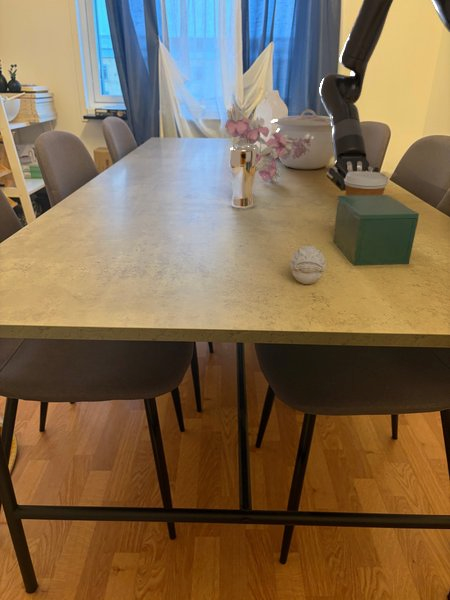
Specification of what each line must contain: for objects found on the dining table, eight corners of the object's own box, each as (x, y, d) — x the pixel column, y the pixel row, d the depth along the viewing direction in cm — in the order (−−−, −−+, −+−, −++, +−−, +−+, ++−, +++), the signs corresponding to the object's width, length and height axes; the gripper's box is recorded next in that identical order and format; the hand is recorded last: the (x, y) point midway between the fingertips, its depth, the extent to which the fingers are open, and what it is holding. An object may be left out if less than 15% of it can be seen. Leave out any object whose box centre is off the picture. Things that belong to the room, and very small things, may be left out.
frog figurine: (287, 291, 71) (290, 251, 68) (288, 274, 77) (291, 237, 74) (325, 293, 70) (329, 253, 67) (323, 276, 76) (327, 238, 73)
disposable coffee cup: (385, 225, 102) (394, 173, 97) (372, 236, 95) (381, 181, 90) (347, 218, 107) (353, 169, 102) (331, 228, 100) (337, 176, 95)
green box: (333, 241, 93) (337, 200, 89) (381, 239, 93) (388, 199, 89) (353, 265, 81) (360, 219, 77) (408, 264, 81) (418, 218, 77)
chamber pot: (343, 174, 156) (350, 112, 146) (266, 172, 159) (269, 111, 150) (337, 161, 180) (343, 107, 171) (271, 159, 184) (274, 106, 175)
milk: (270, 147, 215) (272, 89, 203) (287, 150, 207) (290, 90, 195) (252, 150, 208) (254, 90, 196) (269, 153, 200) (272, 90, 188)
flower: (295, 189, 129) (303, 105, 128) (220, 181, 128) (227, 96, 127) (283, 202, 149) (289, 129, 148) (218, 196, 148) (224, 122, 147)
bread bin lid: (337, 199, 89) (337, 195, 89) (387, 198, 90) (387, 194, 89) (360, 219, 77) (360, 215, 76) (418, 218, 77) (419, 213, 77)
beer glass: (250, 209, 115) (252, 150, 108) (226, 207, 117) (226, 149, 110) (257, 203, 120) (259, 147, 114) (234, 201, 123) (234, 145, 116)
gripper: (326, 133, 104) (334, 196, 99) (379, 132, 105) (390, 195, 100) (318, 152, 112) (325, 212, 106) (368, 152, 112) (378, 211, 107)
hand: (357, 204), depth 103 cm, fingers closed
